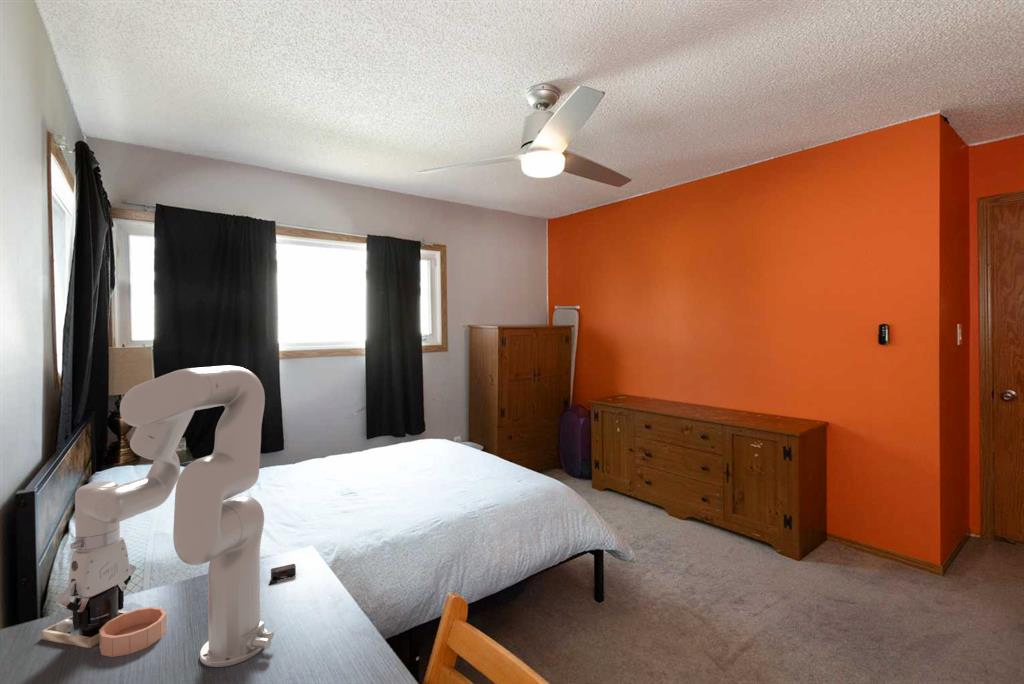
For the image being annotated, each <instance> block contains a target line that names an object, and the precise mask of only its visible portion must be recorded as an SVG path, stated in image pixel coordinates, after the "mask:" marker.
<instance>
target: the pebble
mask: <svg viewBox="0 0 1024 684" xmlns="http://www.w3.org/2000/svg"><path fill="white" fill-rule="evenodd" d="M57 623H58V622H57ZM73 628H74V626H73V621H72V620H71V619H66V618H65V620H64V619H63V620H61V621H59V623H58V624H57V626H56V628H55V631H57V632H63V633H68V634H69V632H71V631H72V630H73Z"/></svg>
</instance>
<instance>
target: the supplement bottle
mask: <svg viewBox="0 0 1024 684" xmlns="http://www.w3.org/2000/svg"><path fill="white" fill-rule="evenodd" d="M81 599H82V598H81ZM81 599H80V601H81ZM79 604H80V602H79ZM118 605H119V591H118V587H117V586H114V587H112V588H110V589H108V590H106V591H104V592H102V593H100V594H98V595H95V596H93V597H91V598H89V600H88V602H87V605H86V607H85V609H86V610H88V627H87V628H86V629H79V628H78V635H80V636H86V637H93V636H95V635H97V634H98V633H99V630H100V629H101V628H102V627H103V626H104V625H105V624H106V622H108V621H110V620H112V619H114V618H115V617H117V616H118Z"/></svg>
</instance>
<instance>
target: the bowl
mask: <svg viewBox="0 0 1024 684" xmlns="http://www.w3.org/2000/svg"><path fill="white" fill-rule="evenodd" d="M126 612H127V613H124V614H121V615H119V616H117V617H115V618H114V619H112V620H110V621H108V622H106V624H105V625H104V626H103V627H102V628H101V629H100V630H99V644H98V645H99V651H100V655H102V656H106V657H112V658H113V657H118V656H119V657H120V656H127V655H131V654H133V653H136V652H138V651H141V650H144V649H147V648H149V647H150V646H151V645H153V644H155V643H157V641H159V640H161V639H162V637H164V635H165V633H166V632H167V612H166V611H165V608H164V607H163V608H162V607H159V606H158V607H157V606H149V607H142V608H137V609H134V610H130V611H126Z"/></svg>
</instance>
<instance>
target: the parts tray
mask: <svg viewBox="0 0 1024 684" xmlns="http://www.w3.org/2000/svg"><path fill="white" fill-rule="evenodd" d="M127 612H128V611H125V610H118V616H119V615H121V614H124V613H127ZM65 619H71V620H72V621H73V614H72V615H71V616H68V617H66V618H65ZM65 619H64V618H63V620H65ZM59 622H60V621H59ZM59 622H56V623H55V624H52V625H50V626H48V627H46V628H44V629H43V630H41V631H40V633H41V635H40V636H41V640H44V641H50V642H55V643H60V644H66V645H71V646H76V647H81V648H86V649H92V648H94V647H95V646H97V645H99V633H98V634H97V635H95V636H93V637H86V636H80V635H79V634H73V633H69V632H68V633H63V632H57V631H55V628H56V626H57V624H58V623H59Z"/></svg>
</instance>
